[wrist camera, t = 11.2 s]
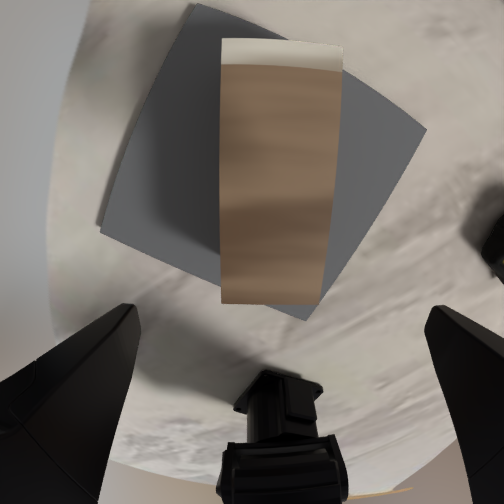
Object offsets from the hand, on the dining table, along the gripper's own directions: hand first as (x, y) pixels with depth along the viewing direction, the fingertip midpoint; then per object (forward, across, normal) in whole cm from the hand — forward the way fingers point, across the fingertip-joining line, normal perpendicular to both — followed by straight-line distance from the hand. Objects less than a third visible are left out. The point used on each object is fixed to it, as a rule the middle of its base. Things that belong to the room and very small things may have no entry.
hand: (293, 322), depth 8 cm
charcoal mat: (+12, +1, -2) cm, 12 cm away
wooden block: (+9, 0, +4) cm, 9 cm away
